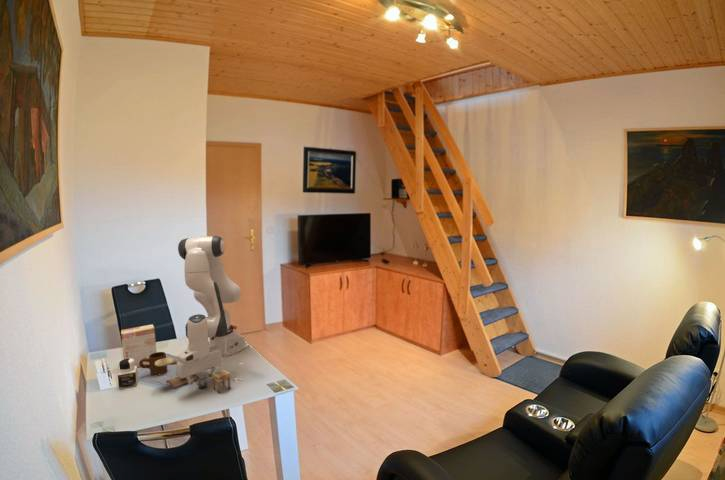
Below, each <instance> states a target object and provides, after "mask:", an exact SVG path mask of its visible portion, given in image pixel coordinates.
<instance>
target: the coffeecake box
mask: <svg viewBox="0 0 725 480" xmlns="http://www.w3.org/2000/svg"><path fill="white" fill-rule="evenodd" d="M155 331H156V330H155V326H154V324H147V325H142V326H136V327H130V328H125V329H121V330H120V336H121V346H122V355H123V360H124V359H128V358H131V359H134V364H135V366H137V368H141V367H140V365H139V362H140V360H141V359H143V358H149V356H150V355H151V354H153V353H157V343H156V342H157V341H156V332H155ZM143 364H144V365H147V364H148V365H150V364H149V362H145V361H144V362H143Z"/></svg>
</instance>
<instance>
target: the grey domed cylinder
mask: <svg viewBox="0 0 725 480" xmlns="http://www.w3.org/2000/svg"><path fill="white" fill-rule="evenodd" d="M199 377H200V376H199ZM197 385H198V386H197V387H198V390H199V391H203V390H206V389H207V388H208V383H207V377H206V376H201V377H200V378H198V381H197Z"/></svg>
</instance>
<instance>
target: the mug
mask: <svg viewBox="0 0 725 480" xmlns="http://www.w3.org/2000/svg"><path fill="white" fill-rule="evenodd" d="M162 358H167V354H166V352H164V351H158V352H157V353H153V354H151V355H150V356H149V358H143V359H141V360H140V362H139V365H140V367H139V368H142V369H149V372H150V375H151V376H153V375H159V374H162V375H164V374H163V373H165V372H166V371H168V365H167V366H155V362H156V361H157V360H159V359H162ZM144 361H145V362H149V364H150V365H148V364H147V365H144V364H143V362H144ZM166 373H167V372H166ZM166 373H165V374H166ZM159 376H160V375H159Z"/></svg>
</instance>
